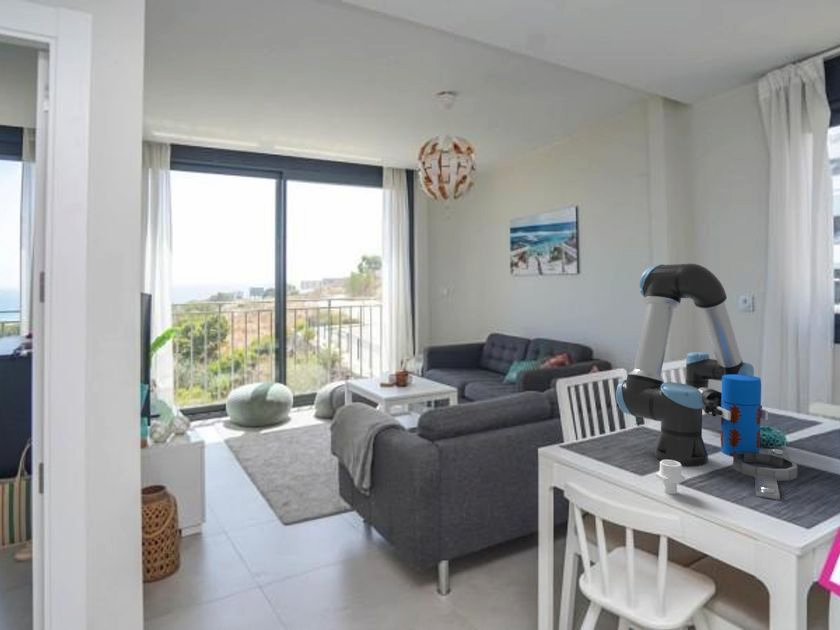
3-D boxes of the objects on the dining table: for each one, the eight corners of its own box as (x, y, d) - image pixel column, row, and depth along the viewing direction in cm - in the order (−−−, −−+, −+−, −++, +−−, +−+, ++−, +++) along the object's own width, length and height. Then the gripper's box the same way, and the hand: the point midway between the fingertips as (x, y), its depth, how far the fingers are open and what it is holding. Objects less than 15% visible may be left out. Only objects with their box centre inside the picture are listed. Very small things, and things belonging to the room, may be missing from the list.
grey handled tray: (732, 491, 135) (732, 481, 135) (733, 447, 170) (733, 439, 169) (805, 504, 127) (805, 492, 126) (790, 455, 161) (790, 446, 161)
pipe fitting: (688, 491, 136) (688, 462, 135) (676, 499, 131) (677, 469, 131) (663, 484, 140) (664, 456, 140) (652, 492, 136) (652, 463, 135)
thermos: (752, 461, 157) (754, 382, 155) (715, 453, 165) (716, 377, 164) (764, 453, 164) (766, 377, 162) (727, 445, 172) (729, 373, 170)
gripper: (743, 409, 181) (785, 426, 159) (677, 410, 182) (710, 427, 160) (744, 388, 181) (786, 403, 159) (677, 389, 182) (710, 404, 160)
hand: (748, 415), depth 160 cm, fingers closed on thermos, 11 cm apart
